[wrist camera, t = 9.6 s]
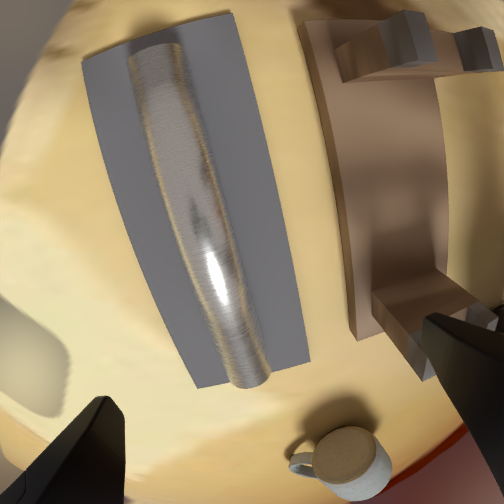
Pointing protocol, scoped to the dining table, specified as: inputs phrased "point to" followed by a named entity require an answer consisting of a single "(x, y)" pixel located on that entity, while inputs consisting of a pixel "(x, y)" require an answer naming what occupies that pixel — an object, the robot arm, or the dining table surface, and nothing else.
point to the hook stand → (393, 167)
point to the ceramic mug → (347, 463)
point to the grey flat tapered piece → (232, 185)
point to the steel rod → (197, 207)
